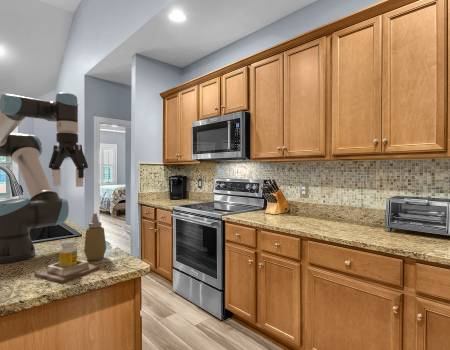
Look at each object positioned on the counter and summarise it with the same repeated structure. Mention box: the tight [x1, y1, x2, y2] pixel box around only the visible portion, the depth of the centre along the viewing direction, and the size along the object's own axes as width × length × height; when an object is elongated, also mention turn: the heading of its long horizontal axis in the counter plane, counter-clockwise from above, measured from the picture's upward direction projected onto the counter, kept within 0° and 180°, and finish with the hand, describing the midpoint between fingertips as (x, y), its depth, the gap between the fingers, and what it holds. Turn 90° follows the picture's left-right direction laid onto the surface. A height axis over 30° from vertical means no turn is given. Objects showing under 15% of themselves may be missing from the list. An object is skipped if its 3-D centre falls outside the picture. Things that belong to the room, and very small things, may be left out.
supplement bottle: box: [58, 239, 78, 269], centre depth 97 cm, size 5×5×10 cm
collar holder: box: [34, 258, 101, 284], centre depth 97 cm, size 14×14×3 cm
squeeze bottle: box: [83, 212, 107, 261], centre depth 111 cm, size 8×8×18 cm
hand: (68, 186), depth 112 cm, fingers open, 13 cm apart
